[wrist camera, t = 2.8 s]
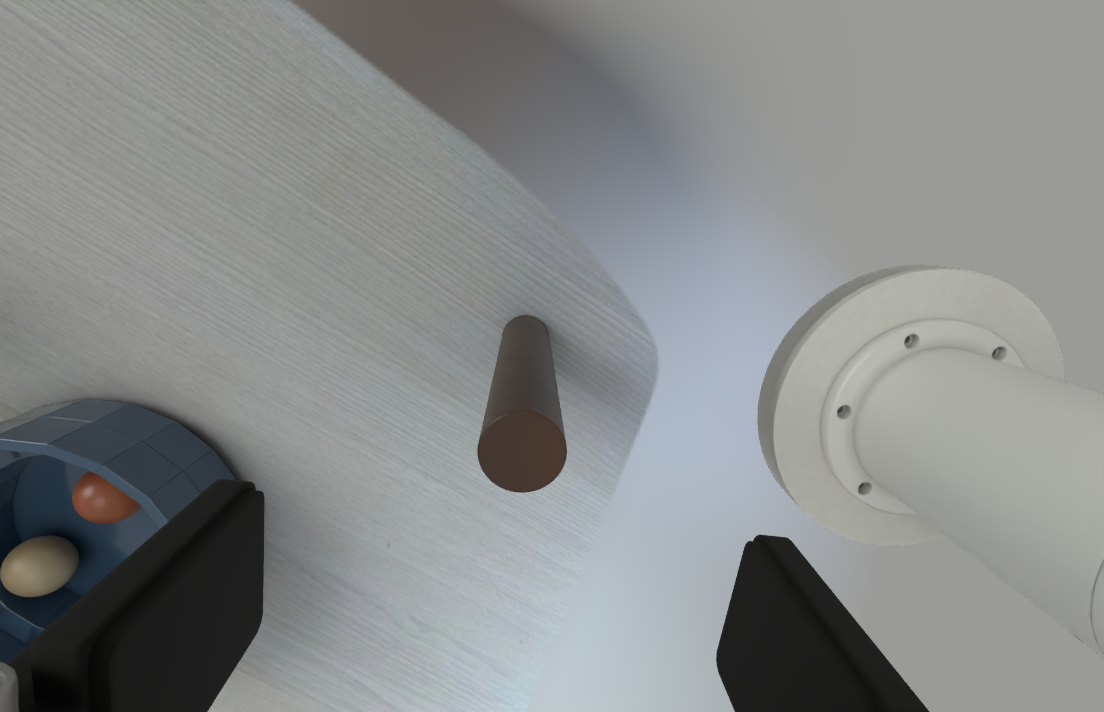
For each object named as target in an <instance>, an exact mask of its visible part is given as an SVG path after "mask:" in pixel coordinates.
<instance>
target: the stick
mask: <svg viewBox="0 0 1104 712" xmlns="http://www.w3.org/2000/svg"><path fill="white" fill-rule="evenodd" d="M566 455H567V446H566V440H565V434H564V427H563V421H562V415H561V408H560V402H559V396H558V389H557V383H556V377H555V370H554V364H553V358H552V351H551V345H550V339H549V333H548V330H547V328H546V326H545V325H544V323H543V322H542V321H540V320H539V319H538V318H536V317H533V316H528V315H523V316H519V317H516V318H514V319H512V320H511V321H510V322H509V323H508V324H507V325H506V327H505V329H504V331H503V335H502V340H501V344H500V349H499V353H498V358H497V362H496V367H495V371H494V376H493V380H492V385H491V389H490V394H489V398H488V403H487V407H486V412H485V416H484V421H483V425H482V430H481V434H480V439H479V443H478V459H479V463H480V466H481V468H482V470H483V472H484V473H485V475H486V476H487V477H488V478H489V479H490V480H491V481H492V482H493V483H494V484H496V485H497V486H499V487H501V488H503V489H505V490H509V491H513V492H531V491H535V490H539V489H541V488H543V487H545V486H547V485H548V484H550V483H551V482H552V481H553V480H554V479H555V478H556V477H557V476H558V475H559V473H560V472H561V470H562V468H563V466H564V464H565V460H566Z"/></svg>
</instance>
